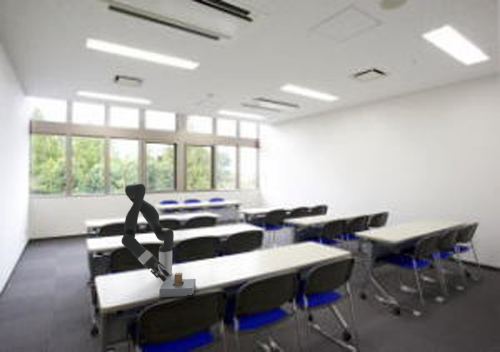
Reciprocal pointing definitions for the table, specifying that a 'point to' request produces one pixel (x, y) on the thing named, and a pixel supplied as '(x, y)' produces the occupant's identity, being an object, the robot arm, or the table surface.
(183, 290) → the dock socket
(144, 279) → the table surface
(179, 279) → the walnut peg
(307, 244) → the table surface
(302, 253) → the table surface
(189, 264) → the table surface
